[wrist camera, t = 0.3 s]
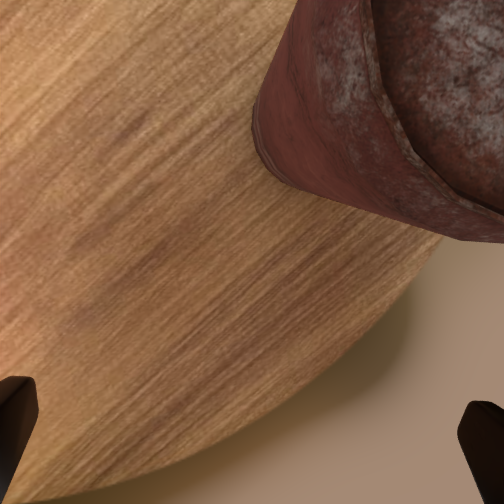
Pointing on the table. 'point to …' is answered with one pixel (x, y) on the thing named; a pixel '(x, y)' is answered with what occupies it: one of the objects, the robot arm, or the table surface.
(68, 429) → the table surface
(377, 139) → the can
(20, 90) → the table surface
